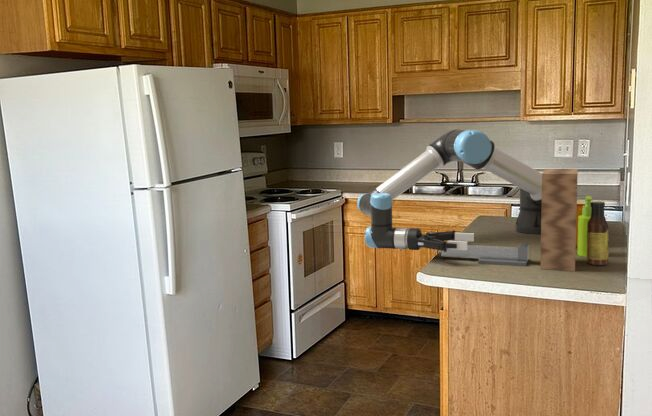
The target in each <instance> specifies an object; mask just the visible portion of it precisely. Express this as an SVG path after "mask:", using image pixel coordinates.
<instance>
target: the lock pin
mask: <svg viewBox="0 0 652 416" xmlns="http://www.w3.org/2000/svg"><path fill="white" fill-rule="evenodd" d="M529 252H530V244H529V243H523V242H522V243H518V246H517V247H516V246H502V245H501V246H500V245H499V246H498V245H496V246H495V245H481V244H479V245H477V244H468V250H451V249H447V252H443V251H440V254H441V255H440V256H441V257H446V258H461V259H463V258H466V259H467V258H468V259H479V258H480V259H498V260H516V261H526V262H527V263H528V262H529V258H530V257H529V256H530V253H529Z"/></svg>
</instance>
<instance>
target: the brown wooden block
mask: <svg viewBox="0 0 652 416" xmlns="http://www.w3.org/2000/svg"><path fill="white" fill-rule="evenodd" d="M578 172H579V169H578V168H544V169H543V171H542V172H541V173H542V206H541V234H540V267H539V268H540V270H548V271H549V270H550V271H565V272H566V271H567V272H575V271H576V254H577V253H576V252H577V250H576V214H577V200H578V195H577V193H578V174H579V173H578Z"/></svg>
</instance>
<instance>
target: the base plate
mask: <svg viewBox="0 0 652 416" xmlns="http://www.w3.org/2000/svg"><path fill="white" fill-rule="evenodd" d="M477 263H478V264H482V265H483V264H484V265H496V266H497V265H500V266H518V267H527V264H528V262H526V261H516V260H498V259H480V258H478V260H477Z"/></svg>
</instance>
